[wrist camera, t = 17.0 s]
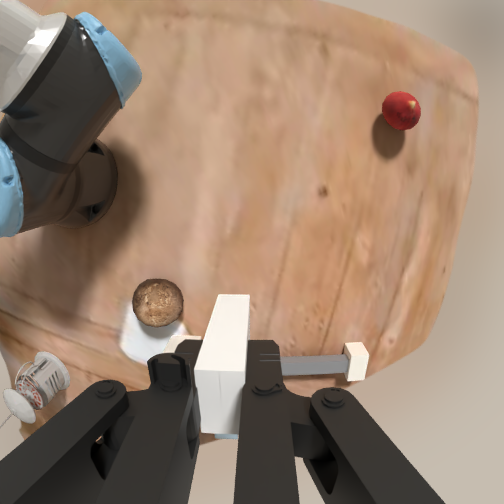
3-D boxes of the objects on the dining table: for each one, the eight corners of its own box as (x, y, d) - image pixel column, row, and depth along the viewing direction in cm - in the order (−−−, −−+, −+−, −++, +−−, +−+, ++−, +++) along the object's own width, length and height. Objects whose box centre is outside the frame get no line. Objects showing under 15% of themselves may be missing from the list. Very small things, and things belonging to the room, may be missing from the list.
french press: (36, 379, 55) (-24, 444, 31) (31, 337, 53) (-42, 400, 28) (71, 396, 55) (15, 471, 31) (68, 354, 53) (-2, 429, 29)
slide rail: (177, 373, 53) (163, 408, 43) (172, 334, 51) (155, 366, 41) (356, 373, 52) (371, 406, 43) (362, 334, 51) (381, 364, 41)
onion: (411, 129, 43) (436, 122, 35) (381, 135, 44) (403, 128, 36) (400, 95, 42) (423, 82, 34) (370, 100, 42) (389, 87, 35)
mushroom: (163, 342, 48) (152, 335, 42) (131, 309, 50) (117, 298, 44) (197, 306, 51) (190, 295, 45) (163, 276, 53) (153, 261, 47)
